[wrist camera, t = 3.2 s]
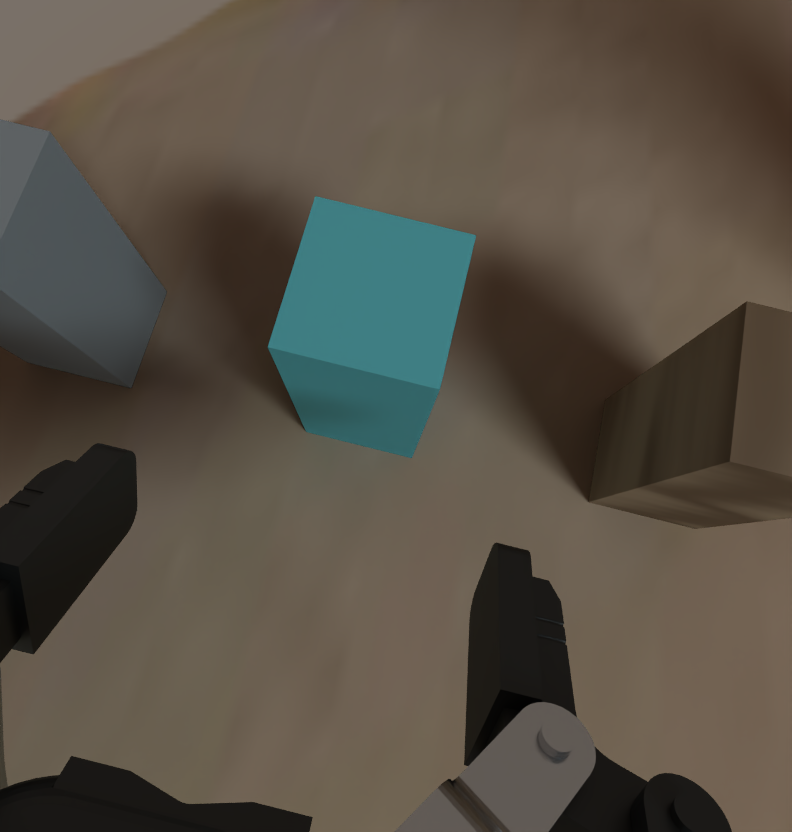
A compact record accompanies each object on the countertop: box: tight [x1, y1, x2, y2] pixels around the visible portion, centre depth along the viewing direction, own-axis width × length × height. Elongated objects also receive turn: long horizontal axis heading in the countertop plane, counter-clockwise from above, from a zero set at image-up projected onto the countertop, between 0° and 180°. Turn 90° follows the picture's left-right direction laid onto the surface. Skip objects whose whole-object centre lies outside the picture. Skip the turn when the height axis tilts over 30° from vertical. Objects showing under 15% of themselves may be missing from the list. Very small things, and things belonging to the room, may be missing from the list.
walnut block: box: [589, 302, 792, 529], centre depth 21 cm, size 4×4×10 cm
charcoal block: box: [0, 120, 167, 388], centre depth 21 cm, size 4×4×10 cm
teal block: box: [268, 196, 476, 458], centre depth 21 cm, size 4×4×10 cm
